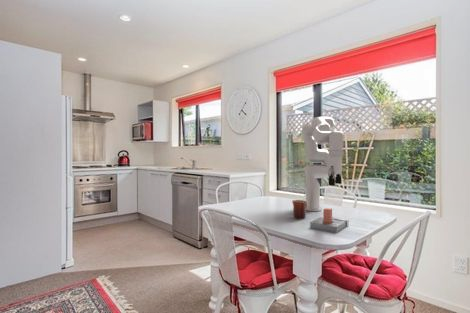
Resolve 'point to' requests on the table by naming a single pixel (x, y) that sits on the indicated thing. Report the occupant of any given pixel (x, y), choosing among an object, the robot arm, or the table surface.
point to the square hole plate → (328, 225)
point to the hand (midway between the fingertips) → (334, 184)
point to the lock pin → (327, 215)
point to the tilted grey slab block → (342, 220)
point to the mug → (299, 209)
